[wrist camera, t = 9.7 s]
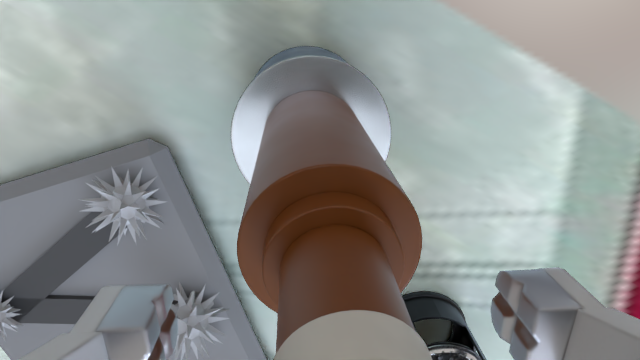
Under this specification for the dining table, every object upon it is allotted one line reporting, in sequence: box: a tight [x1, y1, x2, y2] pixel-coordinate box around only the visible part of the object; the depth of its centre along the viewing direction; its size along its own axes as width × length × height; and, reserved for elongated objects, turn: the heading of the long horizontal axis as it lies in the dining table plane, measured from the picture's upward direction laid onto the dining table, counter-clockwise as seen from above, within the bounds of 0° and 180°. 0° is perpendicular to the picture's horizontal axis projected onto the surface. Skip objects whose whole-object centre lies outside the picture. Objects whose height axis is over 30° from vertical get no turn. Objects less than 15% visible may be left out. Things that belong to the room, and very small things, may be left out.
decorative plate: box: [0, 139, 267, 360], centre depth 35 cm, size 30×22×7 cm
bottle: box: [237, 91, 432, 360], centre depth 15 cm, size 6×6×18 cm
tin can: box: [231, 46, 391, 184], centre depth 28 cm, size 9×9×9 cm
